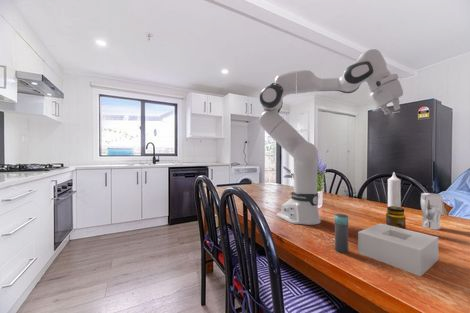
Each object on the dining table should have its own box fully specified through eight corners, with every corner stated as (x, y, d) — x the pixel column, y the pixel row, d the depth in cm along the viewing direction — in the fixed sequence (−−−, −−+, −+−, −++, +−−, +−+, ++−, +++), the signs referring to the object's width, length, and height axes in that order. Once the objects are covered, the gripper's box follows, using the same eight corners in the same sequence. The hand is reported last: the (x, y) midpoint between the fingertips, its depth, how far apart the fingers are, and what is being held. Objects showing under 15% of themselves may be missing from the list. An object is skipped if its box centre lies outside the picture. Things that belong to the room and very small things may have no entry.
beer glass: (420, 227, 91) (420, 194, 91) (420, 223, 96) (420, 192, 96) (442, 231, 86) (442, 196, 86) (441, 227, 92) (441, 194, 91)
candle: (408, 231, 87) (408, 172, 87) (389, 230, 89) (389, 172, 88) (398, 225, 94) (398, 171, 94) (381, 224, 95) (381, 171, 95)
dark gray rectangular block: (332, 249, 70) (332, 215, 70) (338, 246, 73) (338, 213, 73) (344, 254, 67) (344, 218, 67) (350, 251, 69) (350, 216, 69)
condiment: (410, 242, 76) (409, 210, 76) (382, 239, 79) (382, 208, 79) (402, 235, 83) (402, 206, 83) (377, 232, 86) (377, 204, 86)
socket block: (358, 252, 68) (358, 232, 68) (379, 241, 77) (379, 223, 77) (420, 276, 55) (420, 250, 55) (438, 259, 63) (438, 237, 63)
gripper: (366, 93, 104) (376, 118, 102) (382, 79, 84) (395, 110, 83) (379, 88, 102) (390, 113, 101) (399, 72, 82) (412, 103, 81)
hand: (392, 112), depth 91 cm, fingers open, 8 cm apart
